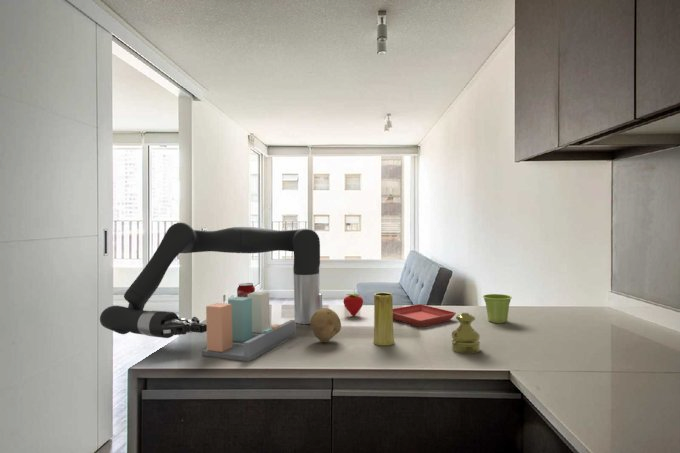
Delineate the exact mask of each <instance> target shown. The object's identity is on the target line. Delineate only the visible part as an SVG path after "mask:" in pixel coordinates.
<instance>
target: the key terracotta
mask: <svg viewBox="0 0 680 453" xmlns="http://www.w3.org/2000/svg"><path fill="white" fill-rule="evenodd" d="M205 314H206V315H205V316H206V318H205V319H206V325H207V331H206V349H207V350H211V351H218V352H223V351H225V350H227V349H229V348H232V347H233V341H232V304H228V303H224V302H223V303H222V302H215V303H212V304H209V305H206V306H205Z"/></svg>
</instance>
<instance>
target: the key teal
mask: <svg viewBox="0 0 680 453" xmlns="http://www.w3.org/2000/svg"><path fill="white" fill-rule="evenodd" d="M227 301H228V303H227V304H232V341H241V342H244V341H246V340H248V339H250V338H252V298H249V297H237V296H236V297H232V298H229V299H228V300H227Z"/></svg>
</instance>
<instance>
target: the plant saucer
mask: <svg viewBox="0 0 680 453" xmlns="http://www.w3.org/2000/svg"><path fill="white" fill-rule="evenodd" d="M456 315H457V313H456V312H454V311H451V310H447V309H442V308H438V307H433V306H431V305H430V306H429V305H426V304H421V303H419V304H418V303H417V304H413V305H407V306H401V307H395V308H393V320H396V321H399V322H402V323H405V324H408V325H409V324H410V325H412V326H416V327H420V328H421V327H425V326H430V325H434V324H435V325H436V324H440V323H445V322H448V321H450V320H452V318H454V317H455V316H456Z"/></svg>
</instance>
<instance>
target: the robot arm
mask: <svg viewBox="0 0 680 453" xmlns="http://www.w3.org/2000/svg"><path fill="white" fill-rule="evenodd" d="M320 240H321V239H320V236H319V235H318V233H317V232H316V231H315V230H313V229H310V228H298V229H288V230H287V229H285V230H284V229H283V230H277V229H270V228H262V227H254V226H233V227H232V226H231V227H228V228H223V229H218V230H198V229H193V227H191V225H189V224H188V223H186V222H176V223H173V224H172V225H171V226H170V227H168V228H167V231H166V232H165V234H164V236H163V238H162V240H161V242H160V243H159V245H158V247H157V248H156V251H155V252H154V253H153V255H152V256H151V258H150V260H149V261H148V262H147V263H146V265H145V267H143V269H142V270H141V272H140V273H139V274H138V276H137V277H136V279H135V280H134V281H133V282H132V283H131V285H130V286H129V287H128V288H127V289H126V291H125V293H124V294H123V298H124V299H125V301H127V302H128V305H127V307H126V306H122V305H111V306H108V307H106V308H104V310H103V311H102V312H101V314H100V316H99V321H100V325H101V326H102V327H104V328H106V329H107V330H110V331H112V332H114V333H117V334H121V335H126V334H129V333H132V334H134V335H135V334H136V335H144V336H147V337H152V338H153V337H154V338H161V339H170V338H172V337H173V336H180V335H181V336H182V335H184V336H185V335H186V334H187V333H188V334H192V333H198V334H200V333H201V334H203V333H205V332H206V333H207V323H201V322H200V319H199V318H198V317H196V316H193V317H192V318H191V319H190V318H185V317H179V316H178V314H177V313H175V311H168V310H167V311H165V310H144V308H145V307H146V304H147V303H148V301H149V300H150V299H151V298H152V296H153V294H155V292H156V290H157V289H158V287H159V286H160V284H161V282H162V280H163V278H164V276H165V274H166V272H167V271H168V268H169V267H170V266H171V265H172V263H173V262H174V260H175V259H176V258H177V257H178V256H179V255H180V254H192V253H205V252H207V253H208V252H217V253H229V254H231V253H232V254H260V253H269V252H275V251H276V252H277V251H284V252H292V253H293V267H292V268H293V270H292V271H293V304H294V305H293V307H294V311H293V312H294V316H293V317H294V320H295V324H300V325H311V324H310V322H311V317H312V316H313V314H314V313H315V312H316V311H318V310H320V309H322V308H323V294H321V292H320V291H321V289H320V287H321V286H320V284H321V283H320V268H321V241H320Z"/></svg>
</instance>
